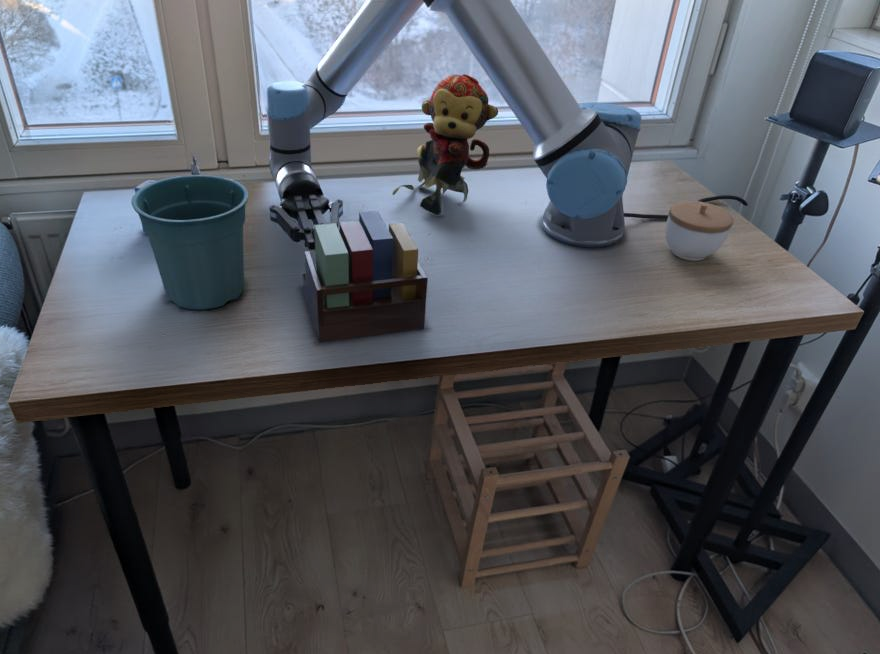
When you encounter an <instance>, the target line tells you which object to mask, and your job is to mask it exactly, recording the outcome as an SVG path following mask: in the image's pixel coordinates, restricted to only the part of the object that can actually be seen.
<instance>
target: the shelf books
mask: <svg viewBox="0 0 880 654" xmlns="http://www.w3.org/2000/svg"><path fill="white" fill-rule="evenodd" d="M338 230H339V232H340V234H341V237H342V239H343V242H344V244H345V246H346V249H347V251H348V266H349V284H351V283H360V282H368V281H373V249H372V247H371V244H370V242H369V240H368V238H367V236H366V234H365V232H364V230H363V228H362V226H361V224H360V222H359V219H357V220H350V221H349V220H348V221H339V227H338ZM388 230H389V232H390V234H391V236H392V238H393V253H392V279H395V278H404V277H413V276H417V267H418V262H419V248H418V246H417V244H416V242H415V241H414V240H413V239H414V238H413V237H412V235H411V233H409V231H408V229H407V227H406V226H405V223H404V222H392V223H388ZM392 288H393V290H394V292H395V294H396V296H397V298H398V300H401V299H410V298H416V285H410V286H401V287H392ZM372 292H373V290H366V291H358V292H349V306H351V305H360V304H368V303H372Z"/></svg>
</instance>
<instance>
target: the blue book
mask: <svg viewBox="0 0 880 654" xmlns="http://www.w3.org/2000/svg"><path fill="white" fill-rule="evenodd" d="M358 220H359V222H360V224H361V226H362V228H363V230H364V232H365V234H366V236H367V238H368V240H369V242H370V244H371V247H372V249H373V281H377V280H386V279H392V253H393V238H392V236H391V234H390V232H389V227H388V226H387V225H386V223H385V221H384V219H383V217H382V215H381V214H380V212H379V210H374V211H361V212H358ZM383 297H391V288H384V289H375V290H373V292H372V299H375V298H383Z"/></svg>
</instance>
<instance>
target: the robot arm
mask: <svg viewBox="0 0 880 654" xmlns="http://www.w3.org/2000/svg"><path fill="white" fill-rule="evenodd" d="M424 4H425V6H426V7H427V9H428V10H429V11H430V12H431V11H432V12H440V13H443V14H444V15H445V16H446V18H447V19H448V20H449V22H450V23H451V24H452V26H453V28H454V29H455V31H456V32H457V34H458V35H459V36H460V38H461V39H462V41H463V42H464V43H465V45H466V46H467V48H468V50H469V51H470V52H471V54H472V55H473V56H474V58H475V60H476V61H477V62H478V64H479V65H480V67H481V68H482V69H483V71H484V73H485V74H486V75H487V77H488V78H489V79H490V81H491V82H492V84H493V86H494V87H495V88H496V90H497V91H498V92H499V94H500V95H501V97H502V99H503V100H504V101H505V103H506V105H508V107H509V109H510V110H511V111H512V113H513V115H514V116H515V118H516V119H517V120H518V122H519V123H520V125H521V126H522V127H523V129H524V130H525V132H526V133H527V134H528V136H529V137H530V139H531V140H532V142H533V145H534V146H533V152H532V159H533V161H534V162H535V163H536V165H537V166H538V168H539V170H540V171H541V172H542V174H543V175H544V176H545V178H546V184H545V187H546V193H547V196H548V199H549V200H550V201H549V202H548V204H547V206H546V208H545V209H544V212H543V215H542V219H541V227H542V229H543V231H544V232H545V233H546V234H547V235H549V236H550V237H552V238H553V239H555V240H557V241H559V242H561V243H563V244H567V245H571V246H574V247H580V248H591V249H593V248H605V247H610V246H613V245H615V244H616V243H618V242H620V241H621V240H622V238H623V235H624V231H625V225H626V224H625V218H637V219H654V220H655V219H656V220H667V219H668V216H669V214H647V213H646V214H645V213H644V214H643V213H635V212H633V213H632V212H625V211H624V202H623V201H624V200H623V195H624V192H625V190H626V187H627V184H628V177H629V173H630V172H629V171H630V167H631V163H632V159H633V156H634V152H635V147H636V144H637V140H638V137H639V132H641V130H642V129H641V125H642V115H641V113H640V112H639V111H637V110H635V109H633V108H631V107H627V106H624V105H618V104H613V103H607V102H606V103H605V102H581V103H578V101H577V100H576V98H575V96H574V95H573V93H572V92H571V90H570V89H569V88H568V86H567V84H566V83H565V81H564V79H563V78H562V77H561V76H560V74H559V72H558V71H557V69H556V67H555V66H554V65H553V63H552V61H551V60H550V59H549V57H548V56H547V54H546V52H545V51H544V49H543V48H542V46H541V45H540V43H539V42H538V41H537V39H536V38H535V36H534V34H533V33H532V31H531V30H530V28H529V26H528V25H527V24H526V22H525V20H524V19H523V18H522V16H521V14H520V13H519V12H518V9H516V7H515V5H514V4H513V2H512V1H511V0H366V1H365V3H363V5H362V7H361V8H360V10H359V11H358V12H357V13H356V14H355V16H354V17H353V18H352V20H351V21H350V23H349V24H348V25H347V27H346V28H345V29H344V30H343V32H342V33H341V34H340V36H339V37H338V38H337V40H336V41H335V42H334V43H333V45H332V46H331V47H330V49H329V50H328V51H327V53H326V54H325V55H324V57H323V58H322V59H321V61H320V62H319V63H318V65H317V66H316V68H315V69H314V70H313V71H312V72H311V74H310V76H309V77H307V79H306V80H305V81H304V82H303V83H302V82H299V81H296V80H280V81H279V82H278V81H277V82H273V83H271V84H269V85H268V86H267V88H266V90H265V91H266V92H265V100H266V101H265V102H266V103H265V112H266V120H267V130H268V139H269V141H268V142H269V159H268V160H269V161H268V163H269V171H270V174H271V175H272V178H273V180H274V183H275V187H276V189H277V193H278V196H279V201H280V205H276V204H270V205H268V208H269V219H270V221H271V222H273V223H275V224H277V225H278V226H279V227H280V228H281V229H282V230H283V232H284V233H285V234H286V235H287V236H288V237H289V239H290V240H291V241H292V242H293V243H300V242H301V241H303V242H304V247H305V248H307V250H308V251H315V233H314V228H312V227H311V223H310V221H309V220H311V222H312V225H313V226H314V225H321V224H328V222H327V221H326V220H325V217H324V215H325V214H326V213H327V212H328V211H329V213H330V218H329V219H330V220H329V224H332V223H336V225H337V227H338V228H339V222H340V218H341V217H342V216H343V215H344V200H343V199H336V200H334V201H330V199H329V198H328V197H326V196H325V194H324V191H323V189H322V188H321V185H320V183H319V180H318V178H317V176H316V174H315V172H314V169H313V166H312V151H311V129H313V128H314V127H315V126H317V125H319V124H320V123H321V122H322V121H324V120H325V119H327V118H328V117H330V116H332V115H334V114H335V113H336V112H338V110H339V109H341V107H342V106H343V105H344V104H345V101H346V98H347V96H348V95H349V93H350V92H351V91H352V90H353V88H354V87H355V86H356V85H357V84H358V82H359V81H361V79H362V78H363V77H364V76H365V74H366V73H367V72H368V70H369V69H370V68H371V67H372V66H373V64H374V63H376V61H377V60H378V59H379V57H380V56H381V55H382V54H383V53H384V52H385V50H386V49H387V48H388V47H389V45H390V44H391V43H392V42H393V40H394V39H395V38H396V37H397V36H398V34H399V33H400V32H401V31H402V30H403V29H404V27H405V26H407V24H408V23H409V21H410V20H411V19H412V18H413V17H414V16H415V14H416V13H417V12H418V11H419V9H420V8H421V7H422V6H423V5H424ZM717 200H732V201H733V200H734V201H737V202H739V203H740V204H742V205H743V206H745V207H747V206H749V203H748V202H747V201H746V199H743V198H742V197H740V196H738V195H730V194H726V195H725V194H724V195H714V196H708V197H704V198H700V199H699V200H698V201H699V202H705V203H708V202H711V201H712V202H713V201H717Z"/></svg>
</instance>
